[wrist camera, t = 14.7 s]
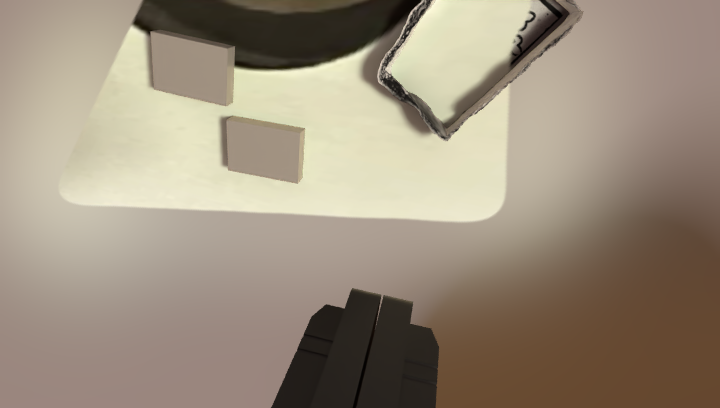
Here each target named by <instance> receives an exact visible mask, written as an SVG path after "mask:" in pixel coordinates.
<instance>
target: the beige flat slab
mask: <svg viewBox="0 0 720 408" xmlns="http://www.w3.org/2000/svg"><path fill="white" fill-rule="evenodd" d="M150 32H151V50H152V67H153V84H154V89H155V90H159V91H163V92H168V93H172V94H176V95H180V96H185V97H189V98H193V99H198V100H202V101H206V102H210V103H215V104H219V105H223V106H228V105H229V104H231V103H233V86H234V57H235V46H231V45H227V44H222V43H218V42H213V41H209V40H204V39H200V38H195V37H191V36H186V35H182V34H177V33H173V32H168V31H164V30H156V31H150Z"/></svg>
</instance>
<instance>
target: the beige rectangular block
mask: <svg viewBox="0 0 720 408" xmlns="http://www.w3.org/2000/svg"><path fill="white" fill-rule="evenodd" d="M226 126H227V155H228V170H229V171H235V172H240V173H245V174H250V175H255V176H261V177H266V178H271V179H276V180H281V181H287V182H292V183H297V184H298V183H299V182H300V180H301V179H302V176H303V158H304V139H305V128H300V127H294V126H289V125H283V124H277V123H271V122H266V121H260V120H254V119H249V118H243V117H237V116H232V117H230V118H229V119H227V120H226Z"/></svg>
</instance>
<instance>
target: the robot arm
mask: <svg viewBox="0 0 720 408" xmlns="http://www.w3.org/2000/svg"><path fill="white" fill-rule="evenodd" d="M380 300H381V295H380V294H376V293H371V292H366V291H363V290H358V289H354V288H352V290H351V292H350V295H349V298H348V301H347V303H346V307H345V309H343V308H340V307H335V306H331V305H325V306H324V307H323V308H321V309H320V310H319V311H318V312H317V313H315V314H314V315H313V316H312V317H311V319H310V321H309V324H308V326H307V328H306V330H305V333H304V336H303V338H302V339H301V342H300V344H299V346H298V349H297V352H296V353H295V355H294V358H293V360H292V362H291V364H290V367H289V369H288V371H287V373H286V376H285V378H284V381H283V383H282V385H281V387H280V389H279V392H278V394H277V396H276V399H275V401H274V403H273V405H272V407H271V408H435V406H436V389H437V386H436V384H437V373H438V370H437V368H438V356H439V346H438V344H437V341H436V339H435V337H434V334H433V332H432V330H431V329H430V328H426V327H422V326H417V325H413V324H410V320H411V313H412V306H413V302H411V301H406V300H403V299H398V298H393V297H390V296H385V295H384V296H383V300H382V304H381V308H380V313H379V316H378V311H379V305H380ZM377 317H378V321H377ZM376 322H377V325H376ZM375 328H376V329H375Z"/></svg>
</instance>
